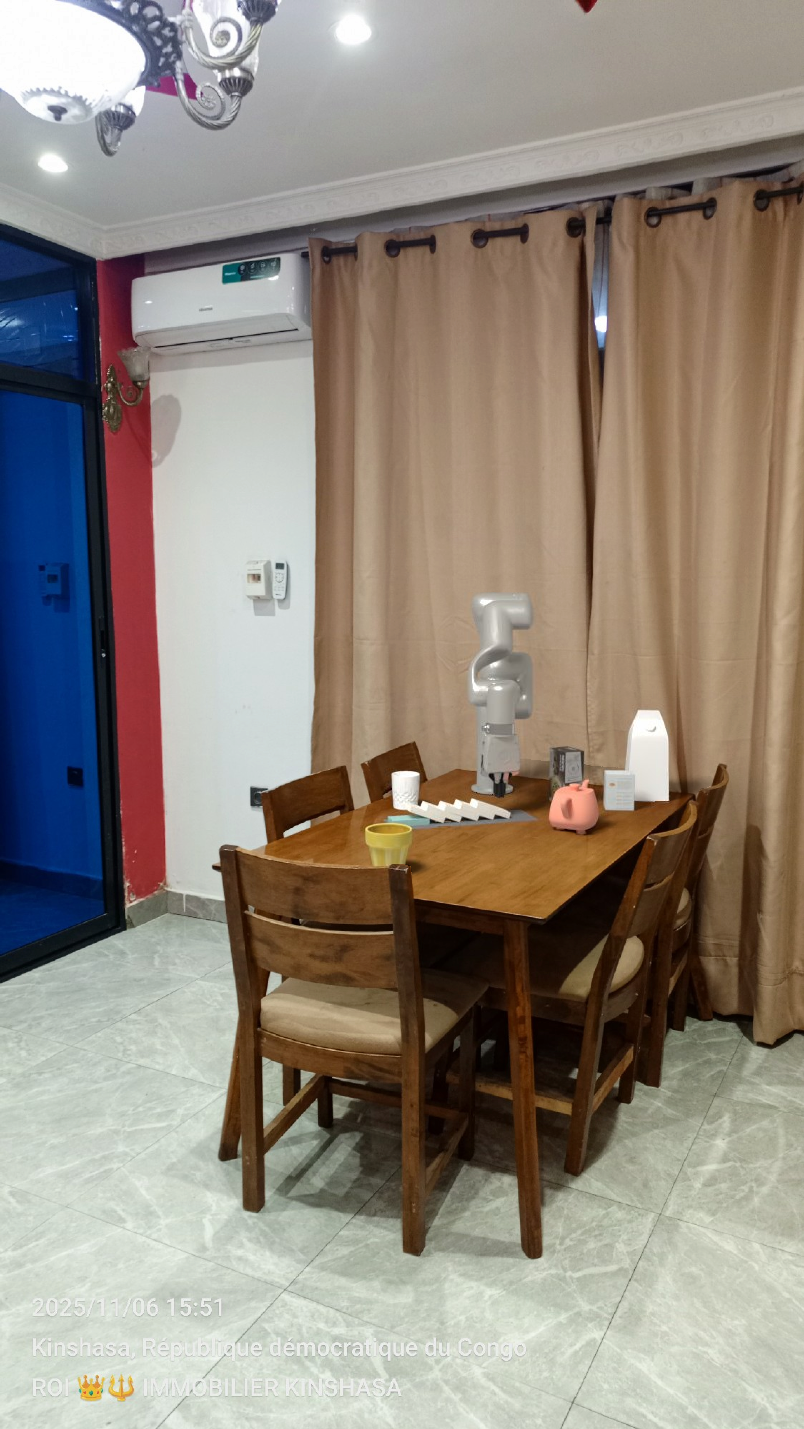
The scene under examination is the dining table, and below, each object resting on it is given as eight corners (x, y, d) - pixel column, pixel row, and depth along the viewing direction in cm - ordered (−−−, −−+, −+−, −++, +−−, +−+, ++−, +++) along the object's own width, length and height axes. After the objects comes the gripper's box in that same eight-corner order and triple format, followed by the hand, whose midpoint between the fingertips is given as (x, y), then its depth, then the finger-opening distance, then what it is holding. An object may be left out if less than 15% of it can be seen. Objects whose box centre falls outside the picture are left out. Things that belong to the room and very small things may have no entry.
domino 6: (501, 814, 262) (469, 803, 259) (503, 808, 262) (471, 798, 259) (508, 818, 258) (476, 807, 254) (510, 813, 258) (478, 802, 254)
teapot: (585, 841, 238) (586, 793, 236) (539, 835, 243) (540, 788, 242) (607, 823, 255) (609, 778, 254) (564, 817, 261) (565, 774, 259)
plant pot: (388, 861, 220) (388, 819, 219) (421, 870, 213) (422, 828, 212) (355, 871, 213) (355, 828, 212) (389, 881, 206) (389, 837, 204)
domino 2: (437, 818, 257) (404, 807, 254) (439, 813, 257) (406, 801, 254) (443, 823, 252) (409, 811, 249) (445, 817, 252) (411, 805, 249)
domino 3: (453, 817, 258) (420, 806, 255) (455, 812, 258) (422, 800, 255) (459, 822, 254) (426, 810, 251) (461, 816, 254) (428, 805, 251)
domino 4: (470, 816, 260) (438, 806, 257) (472, 810, 260) (440, 800, 257) (477, 821, 255) (443, 810, 252) (479, 815, 255) (446, 804, 252)
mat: (382, 821, 257) (382, 819, 257) (521, 811, 268) (521, 809, 268) (394, 832, 245) (394, 830, 245) (538, 821, 256) (538, 820, 256)
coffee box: (583, 806, 274) (585, 750, 272) (564, 808, 271) (565, 752, 269) (566, 799, 282) (568, 745, 280) (547, 801, 280) (549, 746, 278)
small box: (631, 806, 274) (632, 770, 272) (634, 811, 268) (635, 774, 267) (602, 805, 275) (604, 769, 273) (605, 810, 269) (606, 773, 268)
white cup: (385, 808, 271) (385, 773, 270) (406, 804, 276) (406, 769, 275) (404, 813, 265) (404, 777, 264) (425, 809, 271) (425, 774, 269)
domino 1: (423, 819, 256) (387, 822, 253) (423, 814, 256) (387, 816, 253) (429, 824, 251) (392, 827, 249) (429, 818, 251) (392, 821, 248)
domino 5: (486, 815, 261) (453, 804, 258) (488, 809, 261) (455, 799, 258) (492, 819, 256) (460, 809, 253) (495, 814, 256) (462, 803, 253)
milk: (663, 793, 291) (667, 708, 287) (668, 801, 280) (672, 713, 276) (623, 791, 293) (626, 707, 289) (626, 800, 281) (629, 712, 278)
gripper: (479, 732, 250) (478, 801, 253) (532, 730, 255) (530, 798, 257) (469, 728, 258) (468, 795, 260) (520, 726, 262) (519, 792, 264)
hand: (499, 796), depth 259 cm, fingers closed
